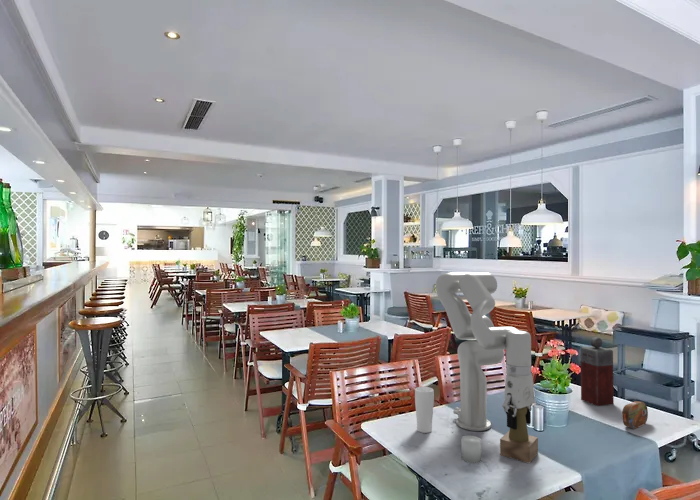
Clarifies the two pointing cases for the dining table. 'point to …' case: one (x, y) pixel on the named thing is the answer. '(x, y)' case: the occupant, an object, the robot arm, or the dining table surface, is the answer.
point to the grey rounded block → (471, 449)
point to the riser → (519, 448)
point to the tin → (635, 414)
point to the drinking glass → (424, 408)
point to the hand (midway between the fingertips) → (518, 424)
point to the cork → (520, 427)
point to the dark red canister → (597, 374)
